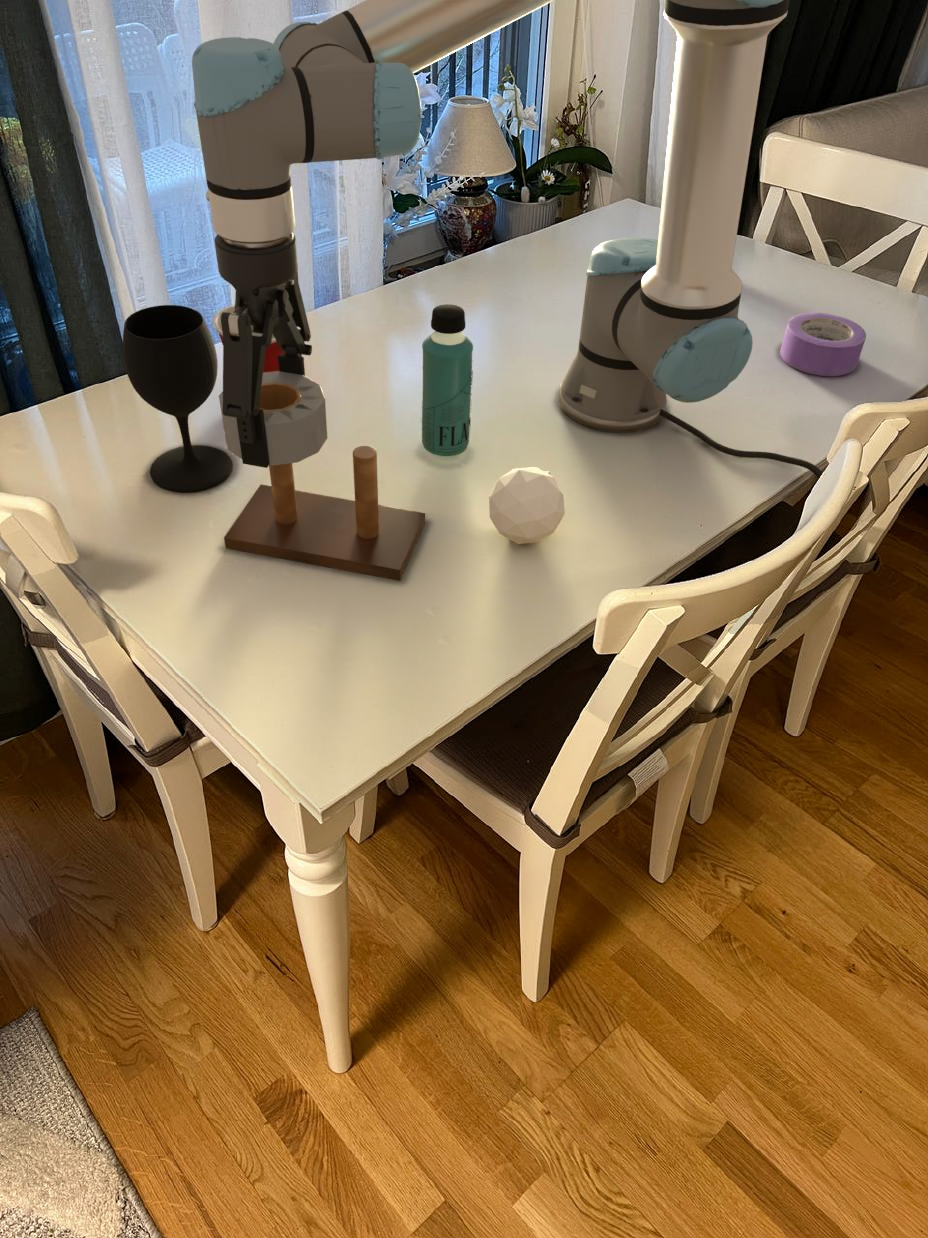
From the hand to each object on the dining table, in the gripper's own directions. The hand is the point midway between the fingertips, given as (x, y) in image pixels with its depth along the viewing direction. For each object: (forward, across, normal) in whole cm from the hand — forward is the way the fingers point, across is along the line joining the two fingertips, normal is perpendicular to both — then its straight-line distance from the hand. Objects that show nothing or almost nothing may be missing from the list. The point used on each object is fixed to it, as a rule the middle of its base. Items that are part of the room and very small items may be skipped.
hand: (276, 435), depth 103 cm
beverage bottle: (+13, -21, +14) cm, 28 cm away
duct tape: (0, 0, 0) cm, 0 cm away
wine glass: (+13, -8, -16) cm, 22 cm away
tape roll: (+13, -64, +64) cm, 92 cm away
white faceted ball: (+13, -8, +28) cm, 32 cm away
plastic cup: (+13, -27, -14) cm, 33 cm away
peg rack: (+13, 0, +5) cm, 14 cm away
